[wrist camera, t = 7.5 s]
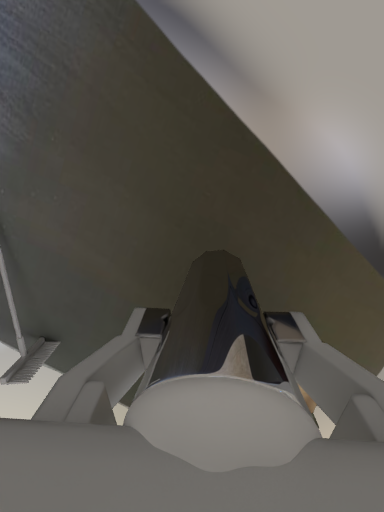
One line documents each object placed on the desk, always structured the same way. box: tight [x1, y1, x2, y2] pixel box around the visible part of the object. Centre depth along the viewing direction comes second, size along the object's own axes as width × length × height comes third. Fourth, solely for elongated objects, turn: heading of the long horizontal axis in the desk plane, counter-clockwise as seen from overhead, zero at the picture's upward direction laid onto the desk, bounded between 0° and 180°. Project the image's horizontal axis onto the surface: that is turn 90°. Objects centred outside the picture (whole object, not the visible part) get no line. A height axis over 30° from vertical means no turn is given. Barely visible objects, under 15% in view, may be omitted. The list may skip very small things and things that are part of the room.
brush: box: [0, 247, 61, 385], centre depth 32 cm, size 4×28×9 cm, turn 178°
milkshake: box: [123, 250, 322, 472], centre depth 8 cm, size 4×5×10 cm
